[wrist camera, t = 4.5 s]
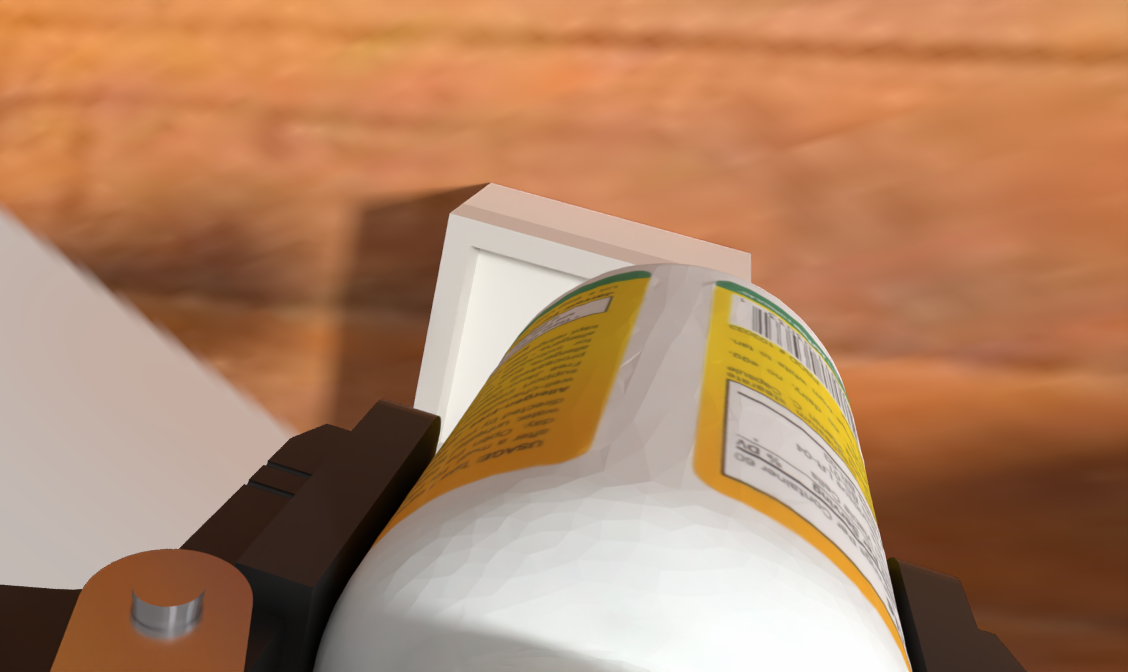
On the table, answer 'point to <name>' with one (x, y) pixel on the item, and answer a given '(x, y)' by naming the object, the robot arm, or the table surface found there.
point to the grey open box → (526, 281)
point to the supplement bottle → (637, 503)
